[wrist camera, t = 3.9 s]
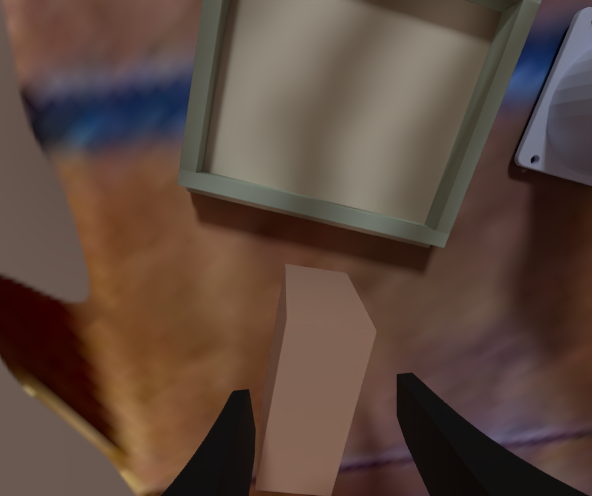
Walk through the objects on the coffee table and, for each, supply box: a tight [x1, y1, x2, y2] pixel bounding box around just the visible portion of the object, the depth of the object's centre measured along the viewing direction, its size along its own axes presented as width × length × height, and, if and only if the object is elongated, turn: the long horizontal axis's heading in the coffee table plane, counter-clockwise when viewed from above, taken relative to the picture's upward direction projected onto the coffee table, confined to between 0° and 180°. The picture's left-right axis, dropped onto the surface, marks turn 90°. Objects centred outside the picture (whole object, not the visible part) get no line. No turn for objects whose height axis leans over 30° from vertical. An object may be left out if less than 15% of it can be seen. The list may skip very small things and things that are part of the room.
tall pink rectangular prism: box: [255, 264, 377, 496], centre depth 19 cm, size 4×10×7 cm, turn 170°
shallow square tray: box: [177, 0, 541, 248], centre depth 16 cm, size 15×14×2 cm
